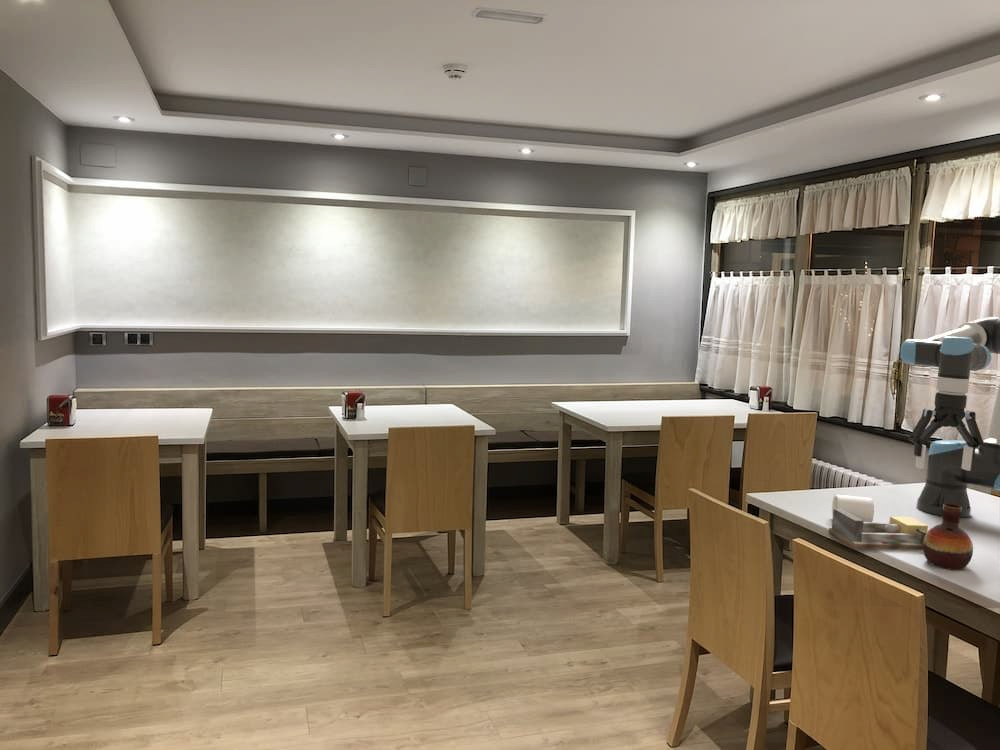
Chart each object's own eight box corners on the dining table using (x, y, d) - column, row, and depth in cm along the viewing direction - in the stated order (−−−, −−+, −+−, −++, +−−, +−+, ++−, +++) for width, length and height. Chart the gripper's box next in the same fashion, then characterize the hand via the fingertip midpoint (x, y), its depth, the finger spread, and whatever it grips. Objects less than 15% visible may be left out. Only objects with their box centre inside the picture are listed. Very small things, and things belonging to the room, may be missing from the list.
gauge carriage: (908, 532, 220) (910, 517, 220) (934, 545, 209) (936, 529, 208) (878, 531, 219) (880, 516, 219) (902, 544, 208) (904, 528, 208)
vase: (978, 574, 192) (986, 513, 190) (930, 569, 194) (937, 509, 192) (960, 559, 203) (967, 502, 201) (914, 554, 204) (921, 497, 203)
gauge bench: (908, 533, 223) (910, 509, 223) (939, 550, 210) (942, 524, 209) (828, 531, 221) (831, 507, 220) (855, 548, 207) (858, 522, 207)
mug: (872, 528, 227) (875, 501, 227) (836, 524, 229) (839, 498, 228) (862, 517, 239) (864, 491, 238) (827, 513, 241) (830, 488, 240)
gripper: (984, 392, 217) (975, 467, 220) (900, 389, 215) (891, 464, 218) (1004, 396, 210) (994, 473, 212) (916, 393, 208) (907, 470, 210)
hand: (942, 468), depth 215 cm, fingers open, 13 cm apart
